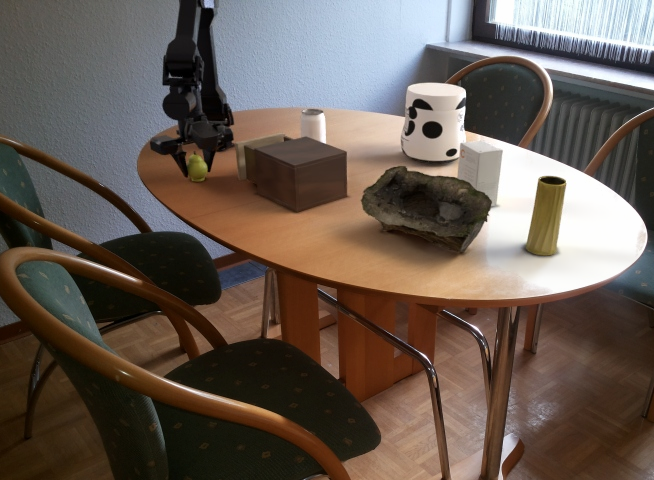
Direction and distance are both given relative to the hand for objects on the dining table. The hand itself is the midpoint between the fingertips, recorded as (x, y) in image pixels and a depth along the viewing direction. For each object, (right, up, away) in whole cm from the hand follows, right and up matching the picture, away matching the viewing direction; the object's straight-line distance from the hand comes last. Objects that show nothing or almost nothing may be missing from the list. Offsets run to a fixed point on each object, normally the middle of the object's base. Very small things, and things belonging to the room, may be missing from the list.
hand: (197, 174), depth 154 cm
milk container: (+57, +9, +21) cm, 62 cm away
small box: (+66, -8, -6) cm, 67 cm away
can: (+26, +8, +18) cm, 32 cm away
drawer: (+18, -1, +1) cm, 18 cm away
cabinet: (+26, -6, -6) cm, 27 cm away
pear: (0, -1, +1) cm, 1 cm away
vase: (+76, -20, -26) cm, 83 cm away
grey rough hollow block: (+53, -18, -25) cm, 61 cm away
